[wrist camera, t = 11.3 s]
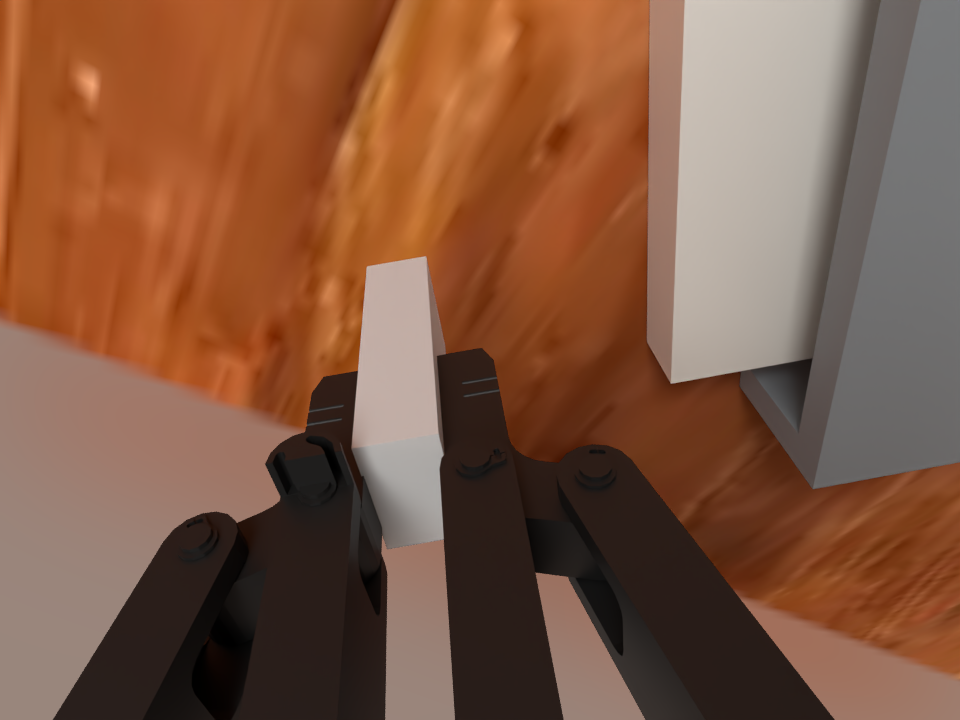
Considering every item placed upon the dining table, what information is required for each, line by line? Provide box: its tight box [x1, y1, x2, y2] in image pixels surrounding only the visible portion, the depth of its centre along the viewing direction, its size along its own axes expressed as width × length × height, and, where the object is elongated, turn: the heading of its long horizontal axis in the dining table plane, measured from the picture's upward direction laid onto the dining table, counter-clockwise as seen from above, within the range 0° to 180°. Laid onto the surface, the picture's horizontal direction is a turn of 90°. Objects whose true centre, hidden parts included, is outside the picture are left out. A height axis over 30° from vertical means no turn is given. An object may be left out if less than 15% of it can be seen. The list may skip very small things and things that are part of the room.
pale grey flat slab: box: [647, 0, 881, 384], centre depth 23 cm, size 16×10×3 cm, turn 8°
